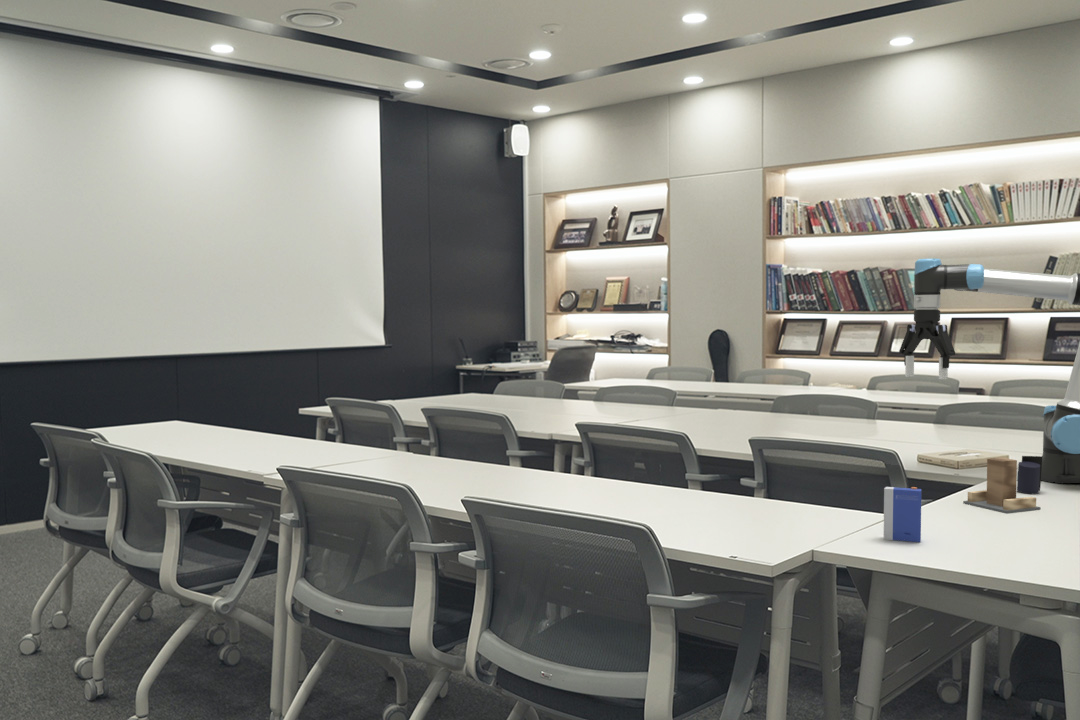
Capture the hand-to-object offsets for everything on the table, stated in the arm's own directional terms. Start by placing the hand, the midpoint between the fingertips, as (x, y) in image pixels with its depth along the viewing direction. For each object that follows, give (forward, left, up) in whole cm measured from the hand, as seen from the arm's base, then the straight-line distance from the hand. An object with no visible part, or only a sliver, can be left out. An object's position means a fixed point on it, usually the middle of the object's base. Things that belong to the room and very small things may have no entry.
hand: (925, 377), depth 285 cm
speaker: (-12, +28, -32) cm, 44 cm away
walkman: (+63, +57, -32) cm, 91 cm away
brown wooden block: (+12, +39, -31) cm, 51 cm away
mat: (+12, +39, -32) cm, 52 cm away
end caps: (+12, +39, -32) cm, 52 cm away
